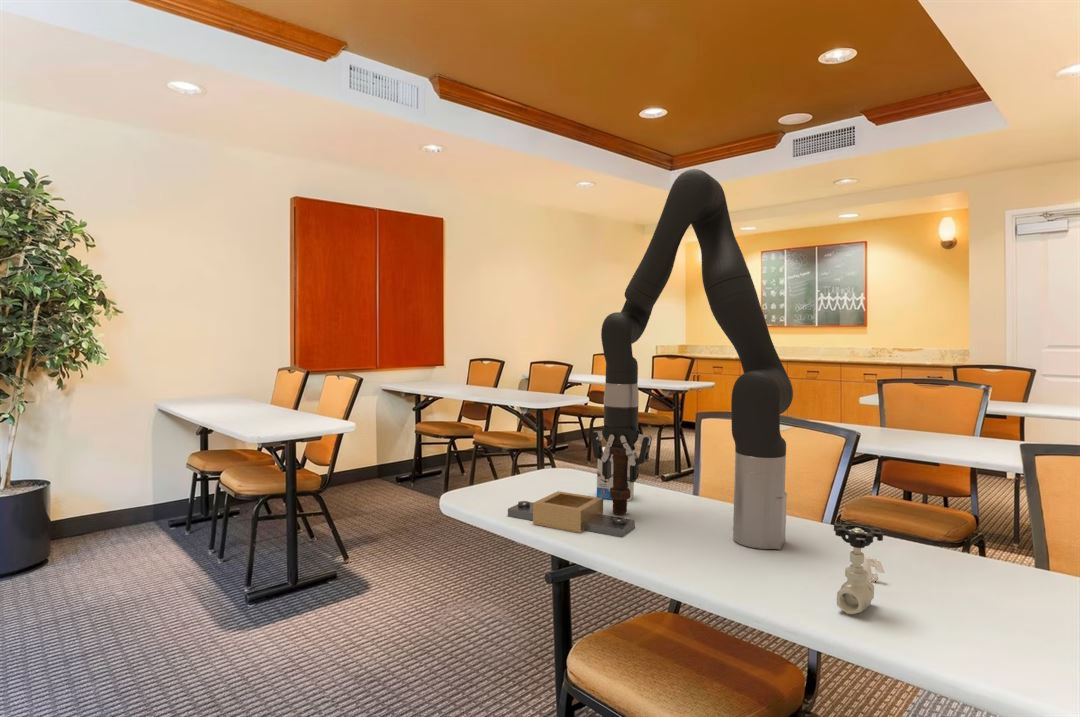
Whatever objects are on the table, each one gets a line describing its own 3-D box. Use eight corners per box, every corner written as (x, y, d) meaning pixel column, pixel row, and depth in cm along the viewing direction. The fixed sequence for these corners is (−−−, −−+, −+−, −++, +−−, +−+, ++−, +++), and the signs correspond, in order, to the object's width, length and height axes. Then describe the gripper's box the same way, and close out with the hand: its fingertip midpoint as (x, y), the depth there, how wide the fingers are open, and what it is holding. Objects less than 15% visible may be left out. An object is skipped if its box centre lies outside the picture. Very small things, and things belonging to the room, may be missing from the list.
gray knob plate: (634, 527, 129) (634, 516, 128) (621, 537, 122) (621, 525, 122) (594, 520, 133) (595, 509, 133) (580, 529, 127) (580, 517, 127)
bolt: (632, 517, 135) (633, 448, 135) (609, 517, 135) (610, 448, 135) (629, 509, 141) (630, 443, 140) (607, 509, 141) (608, 443, 140)
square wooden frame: (602, 518, 134) (603, 498, 134) (580, 533, 125) (580, 510, 124) (557, 511, 140) (557, 491, 139) (532, 524, 130) (533, 502, 130)
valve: (885, 608, 92) (888, 528, 92) (873, 623, 87) (876, 539, 87) (838, 595, 97) (840, 518, 96) (824, 609, 92) (826, 528, 91)
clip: (885, 583, 102) (885, 560, 101) (880, 586, 100) (881, 563, 100) (853, 573, 105) (854, 551, 105) (848, 576, 104) (849, 554, 104)
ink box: (595, 498, 151) (596, 450, 150) (599, 493, 155) (600, 446, 155) (631, 501, 148) (632, 452, 147) (634, 496, 153) (635, 448, 152)
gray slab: (555, 513, 138) (555, 502, 138) (539, 522, 132) (539, 510, 131) (524, 508, 142) (524, 497, 141) (507, 516, 136) (507, 505, 135)
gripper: (658, 404, 137) (656, 480, 138) (598, 400, 144) (597, 472, 145) (646, 407, 130) (645, 488, 131) (584, 403, 137) (583, 479, 138)
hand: (620, 479), depth 138 cm, fingers closed on bolt, 5 cm apart
